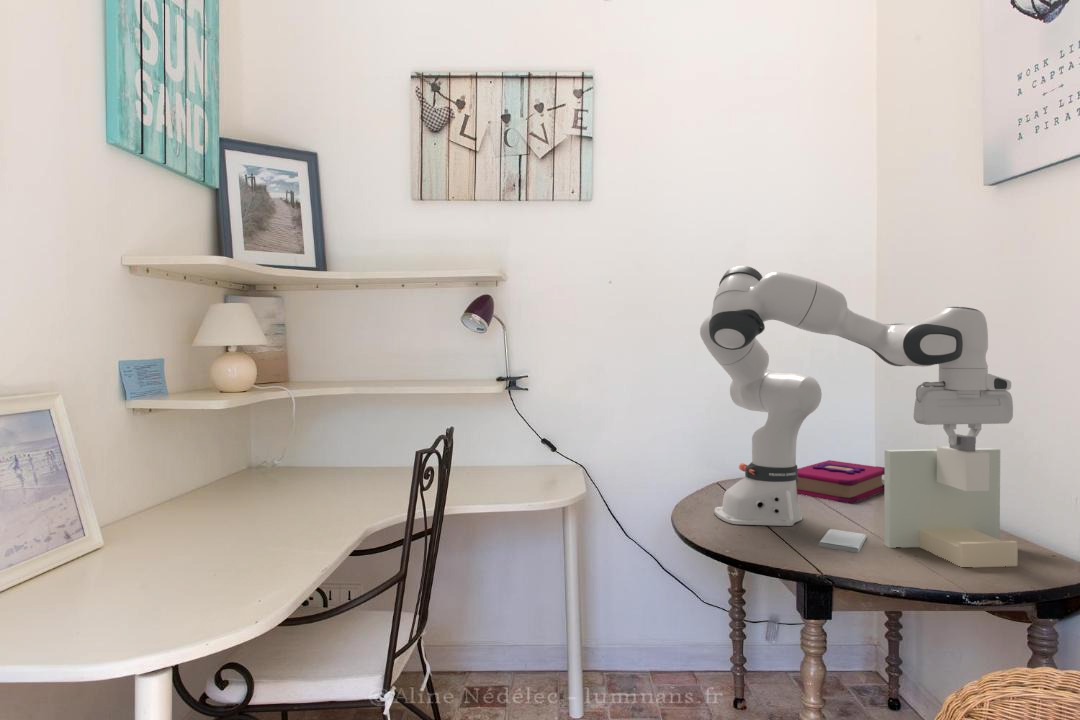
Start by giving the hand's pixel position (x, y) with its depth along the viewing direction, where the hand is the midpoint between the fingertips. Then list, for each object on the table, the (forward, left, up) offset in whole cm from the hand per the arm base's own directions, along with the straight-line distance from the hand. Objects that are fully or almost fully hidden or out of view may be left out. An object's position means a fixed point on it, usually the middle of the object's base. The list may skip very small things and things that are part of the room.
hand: (962, 444), depth 134 cm
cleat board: (0, -1, -24) cm, 24 cm away
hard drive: (-21, +10, -25) cm, 34 cm away
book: (+5, +59, -25) cm, 65 cm away
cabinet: (0, 0, -9) cm, 9 cm away
